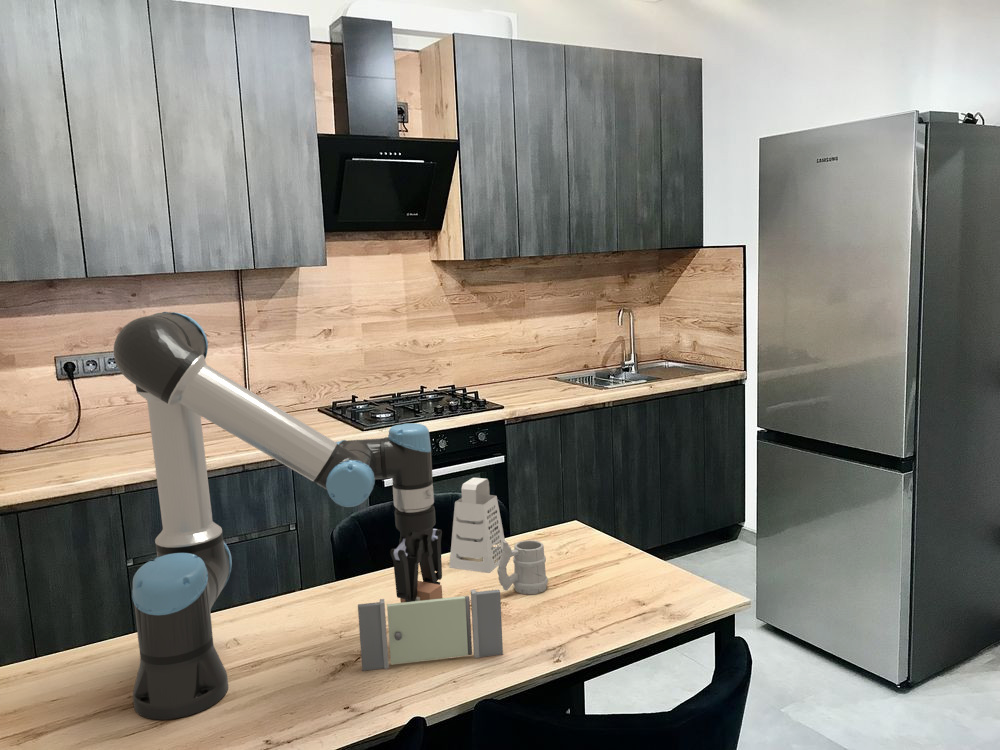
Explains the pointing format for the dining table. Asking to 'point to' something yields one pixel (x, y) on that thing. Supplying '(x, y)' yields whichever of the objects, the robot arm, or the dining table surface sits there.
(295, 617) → the dining table surface
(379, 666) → the frame
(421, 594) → the orange brown rectangular block
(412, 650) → the door
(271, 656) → the dining table surface
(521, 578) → the mug
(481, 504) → the grater
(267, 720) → the dining table surface
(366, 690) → the dining table surface
